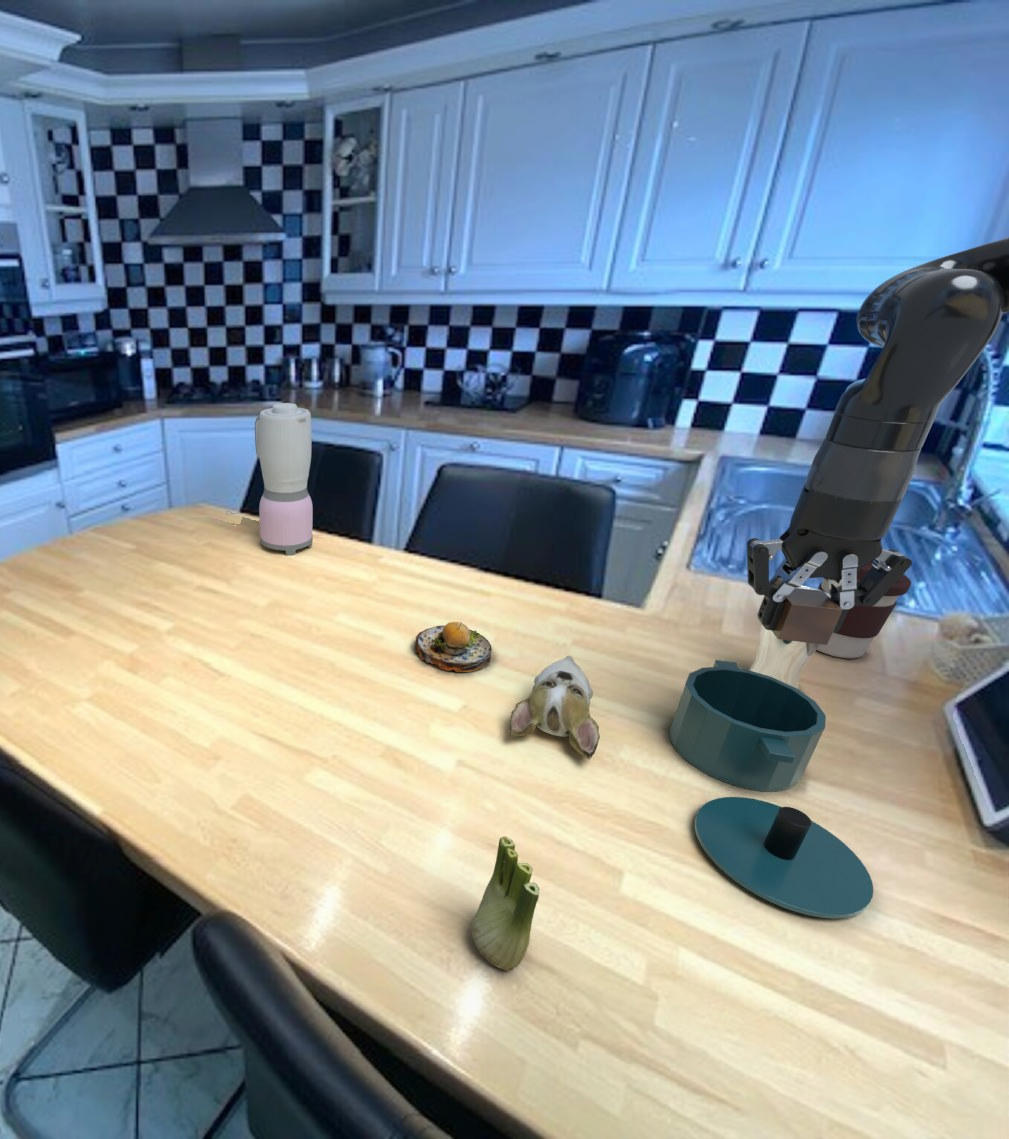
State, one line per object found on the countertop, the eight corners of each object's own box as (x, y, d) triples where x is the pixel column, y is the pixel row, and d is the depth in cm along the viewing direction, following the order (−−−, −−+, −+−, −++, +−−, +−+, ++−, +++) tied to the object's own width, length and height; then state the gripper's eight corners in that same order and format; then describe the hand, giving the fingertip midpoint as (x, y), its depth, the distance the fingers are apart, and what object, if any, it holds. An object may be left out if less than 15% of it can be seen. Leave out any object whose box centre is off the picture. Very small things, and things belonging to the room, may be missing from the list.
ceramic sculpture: (615, 655, 84) (605, 724, 73) (602, 704, 89) (591, 777, 78) (531, 637, 90) (510, 698, 79) (523, 684, 94) (502, 749, 83)
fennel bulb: (525, 987, 55) (549, 896, 50) (466, 968, 56) (484, 878, 51) (524, 928, 60) (546, 840, 54) (471, 912, 61) (487, 824, 56)
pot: (766, 715, 86) (787, 664, 82) (832, 820, 70) (862, 762, 66) (654, 698, 90) (669, 649, 86) (691, 793, 74) (712, 738, 70)
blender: (324, 544, 144) (326, 404, 130) (285, 560, 137) (284, 414, 123) (277, 527, 155) (275, 396, 141) (240, 540, 148) (234, 404, 134)
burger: (494, 641, 105) (500, 603, 101) (486, 680, 95) (493, 639, 92) (422, 628, 109) (425, 590, 106) (408, 663, 100) (411, 623, 97)
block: (808, 624, 72) (823, 590, 70) (827, 645, 68) (843, 609, 66) (762, 619, 73) (775, 585, 71) (777, 639, 69) (792, 604, 67)
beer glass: (812, 700, 88) (853, 608, 82) (757, 696, 89) (793, 605, 83) (782, 671, 95) (818, 584, 88) (731, 668, 96) (763, 582, 89)
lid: (827, 820, 70) (848, 780, 67) (902, 941, 57) (931, 898, 55) (677, 792, 74) (691, 753, 71) (716, 898, 62) (734, 856, 59)
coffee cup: (802, 624, 106) (835, 544, 100) (880, 648, 99) (921, 563, 93) (786, 646, 101) (819, 562, 94) (867, 672, 94) (910, 584, 87)
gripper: (920, 480, 64) (854, 622, 72) (755, 470, 68) (710, 606, 76) (968, 504, 58) (891, 657, 65) (784, 492, 62) (731, 637, 69)
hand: (794, 629), depth 71 cm, fingers closed on block, 4 cm apart
